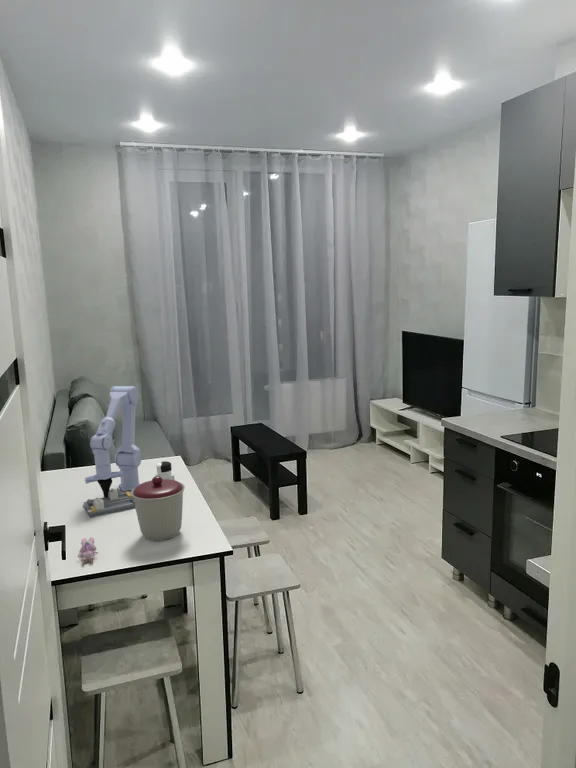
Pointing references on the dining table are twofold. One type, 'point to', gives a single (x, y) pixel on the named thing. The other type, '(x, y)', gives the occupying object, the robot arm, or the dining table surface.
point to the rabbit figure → (87, 550)
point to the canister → (159, 507)
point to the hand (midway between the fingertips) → (106, 496)
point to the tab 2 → (113, 494)
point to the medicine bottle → (165, 470)
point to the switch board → (111, 505)
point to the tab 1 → (99, 504)
